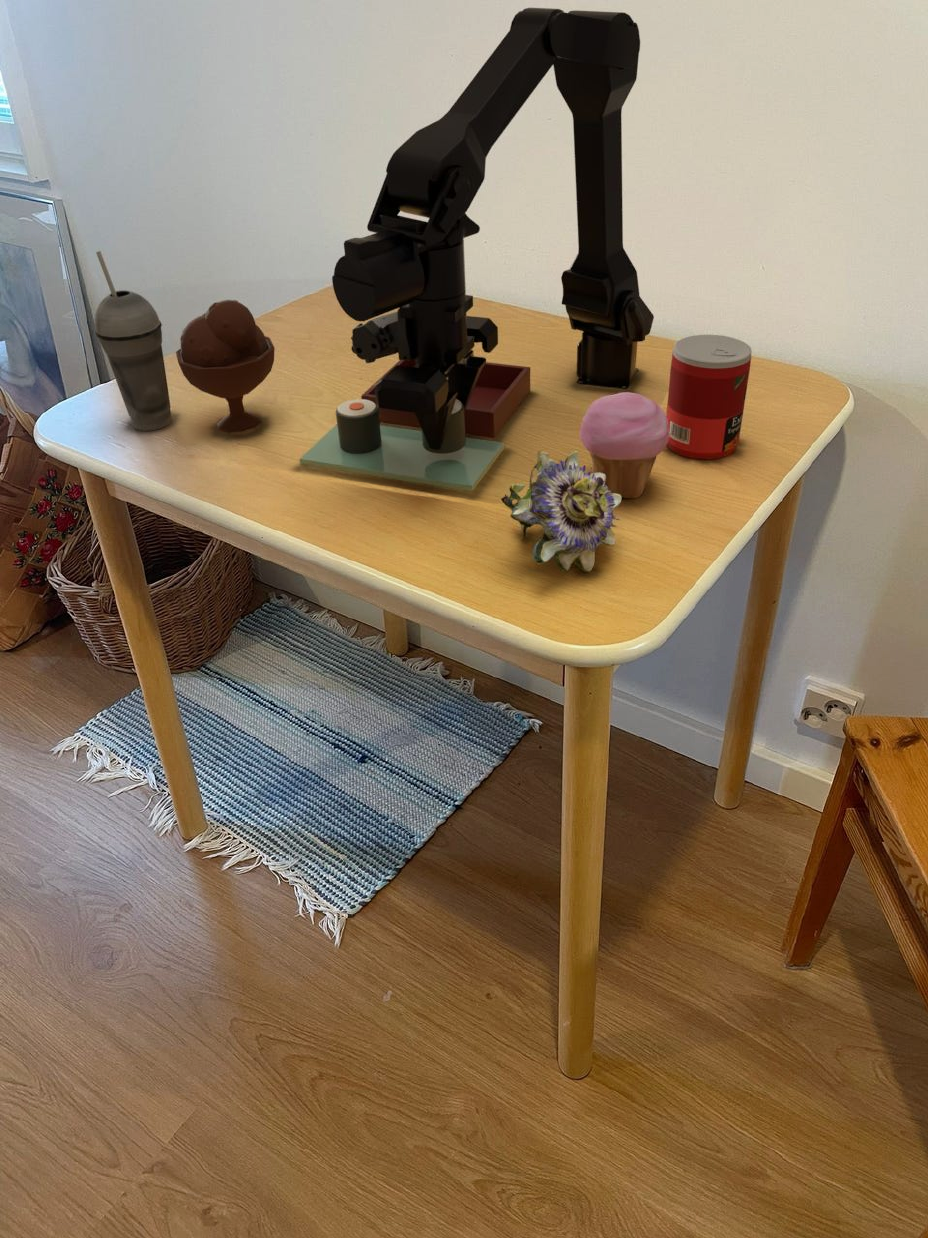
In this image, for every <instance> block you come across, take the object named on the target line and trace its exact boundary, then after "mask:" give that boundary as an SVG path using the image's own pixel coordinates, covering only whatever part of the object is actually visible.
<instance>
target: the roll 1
mask: <svg viewBox="0 0 928 1238" xmlns="http://www.w3.org/2000/svg"><path fill="white" fill-rule="evenodd" d="M335 418H336V424H337V427H338V435H339V443H340V448H341V449H342V450H343V451H345V452H348V453H353V454H363V453H368V452H372V451H374V450H376V449H378V448H379V447H380V446H381V443H382V441H381V431H380V425H381V424H380V423H381V422H380V421H379V411H378V406H377V405H376V404H375V403H374V402H372V401H369V400H365V399H362V398H358V399H357V398H356V399H349V400H346V401H343V402H341V403H340V404H338V406H337V407H336V408H335Z"/></svg>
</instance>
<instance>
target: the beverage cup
mask: <svg viewBox="0 0 928 1238" xmlns="http://www.w3.org/2000/svg"><path fill="white" fill-rule="evenodd" d="M95 252H96V256H97V259H98V261H99V265H100V266H101V269H102V272H103V274H104V278H105V280H106V283H107V285H108V288H109V291H110V293H109V294H107V295H106V296H104V297H103V299H101V301H100V302H99V304H98V306H97V308H96V311H95V315H94V328H95V330H94V331H95V332H94V333H95V336H96V338H97V339H98V341H99V343H100V345H101V347H102V349H103V351H104V354H106V357H107V359H108V362H109V365H110V368H111V370H112V373H113V376H114V378H115V381H116V384H117V386H118V389H119V392H120V395H121V397H122V400H123V403H124V405H125V408H126V411H127V414H128V416H129V418H130V421H131V422H132V425H133V428H134V429H136V430H138V431H142V432H149V431H156V430H160V429H163V428H165V427H167V426H168V425H170V424H171V423H172V419H173V418H172V415H171V414H172V412H171V411H172V410H171V402H170V401H171V400H170V394H169V393H170V392H169V387H168V379H167V372H166V366H165V359H164V352H163V345H162V343H163V331H162V322H161V320H160V317H159V315H158V313H157V311H156V310H155V308H154V306H153V305H152V304H151V302H150V301H149V300H147V298H145V296H143V295H141V294H139V293H136V292H134V291H131V290H116V289H115V286H114V283H113V281H112V278H111V276H110V273H109V270H108V267H107V265H106V262H105V260H104V257H103V254H102V251H101V250H98V251H95Z"/></svg>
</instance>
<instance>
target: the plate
mask: <svg viewBox="0 0 928 1238" xmlns="http://www.w3.org/2000/svg"><path fill="white" fill-rule="evenodd" d="M380 431H381V441H382V443H381V446H380V447H379V448H378V449H376V450H374V451H372V452H368V453H363V454H353V453H348V452H345V451H343V450H342V449H341V448H340V443H339V435H338V427H337V423H336V424H335V425H334V426H333V427H331V429H330V430H328V432H327V433H325V434H324V435H323V437H321V438H320V439H319V440H318V441H317V442H316V443H315V444H314V445H313V446H311V447H310V448H309V449H308V450H307V451H306V452H305V453H304V454H303V455H302V456H301V457H300V458H299V463H300V465H303V466H309V467H316V468H323V469H329V470H335V471H341V472H346V473H347V472H348V473H353V474H360V475H367V476H374V477H379V478H384V479H385V478H386V479H392V480H398V481H404V482H411V483H417V484H423V485H430V486H436V487H442V488H449V489H456V490H461V491H467V492H473V491H474V490H475V489H476V487H477V486H478V485H479V483H480V482H481V481H482V479H483V478H484V477H485V475H486V474H487V473H488V471H489V470H490V468H491V467H492V466H493V464H494V463H495V462H496V460H497V459H498V457H500V455H501V454H502V452H503V451H504V450H505V442H501V441H494V440H487V439H480V438H472V437H466V436H465V439H466V443H465V446H464V447H463V448H462V449H460V450H458V451H456V452H452V453H446V454H438V453H432V452H429V451H427V450H426V449H424V447H423V445H422V432H421V430H416V429H409V428H402V427H395V426H389V425H381V424H380Z"/></svg>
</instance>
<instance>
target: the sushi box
mask: <svg viewBox="0 0 928 1238" xmlns="http://www.w3.org/2000/svg"><path fill="white" fill-rule="evenodd" d="M416 364H417V363H416V360H414V359H411V360H410V361H406V360H399V359H398V361H397V362H396V363H395V364H393V366H392V367H390V368H389V369H388V370H387V371H386V372H385V373H384V374H383V375H382V376H381V377H380V378H378V380H377V381H375V383H373V384H372V385H371V386H370V387H369V388H367V390H366V391H364V393H362V394H361V397H360V399H365V400H369V401H372V402H374V403H375V404H376V399H375V389H374V387H375V386H376V385H377V384H378V383H379V381H380V380H381V379H382V378H384V377H385V376H386V375H387V374H388V373H389V372H390V371H391V370H392V369H393V368H394V367H395V366H396V365H399V366H408V367H414V366H415V365H416ZM530 392H531V367H530V366H525V365H524V366H523V365H516V364H515V365H514V364H506V363H497V362H488V361H486V364H485V365H484V367H483V369H482V371H481V374H480V376H479V378H478V381H477V383H476V385H475V388H474V390H473V392H472V395H471V397H470V399H469V402H468V404H467V407H466V409H465V412H464V415H465V435H470V436H477V437H483V438H491V439H495V437H496V436H497V435H498V434H499V432H500V431H501V430H502V428H503V427H504V426H505V425H506V423H507V422H508V421H509V419H510V418H511V417H512V415H513V414H514V413H515V411H516V410H517V409H518V407H519V406H520V405H521V404H522V402H523V401H524V400H525V399H526V397H527V396H528V394H530ZM378 411H379V421H380V423H382V424H391V425H397V426H403V427H404V426H405V427H412V428H420V429H421V427H420V424H419V422H418V420H417V418H416V416H415V414H414V413H413V412H406V411H398V410H391V409H384V408H379V407H378Z"/></svg>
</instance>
